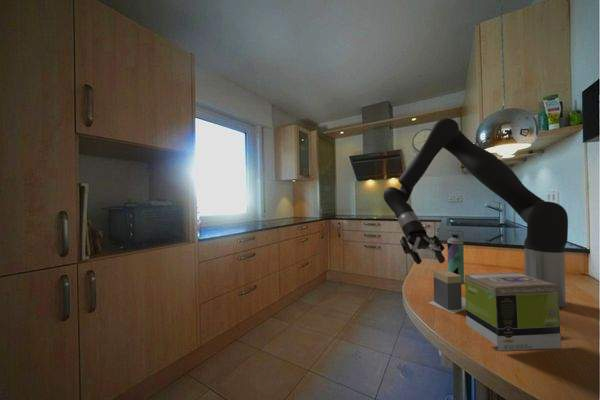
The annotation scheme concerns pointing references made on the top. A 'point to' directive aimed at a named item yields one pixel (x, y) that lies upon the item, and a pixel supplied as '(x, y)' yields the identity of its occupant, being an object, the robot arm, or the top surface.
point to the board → (452, 310)
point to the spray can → (456, 256)
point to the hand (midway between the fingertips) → (431, 262)
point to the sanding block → (447, 289)
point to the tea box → (513, 310)
